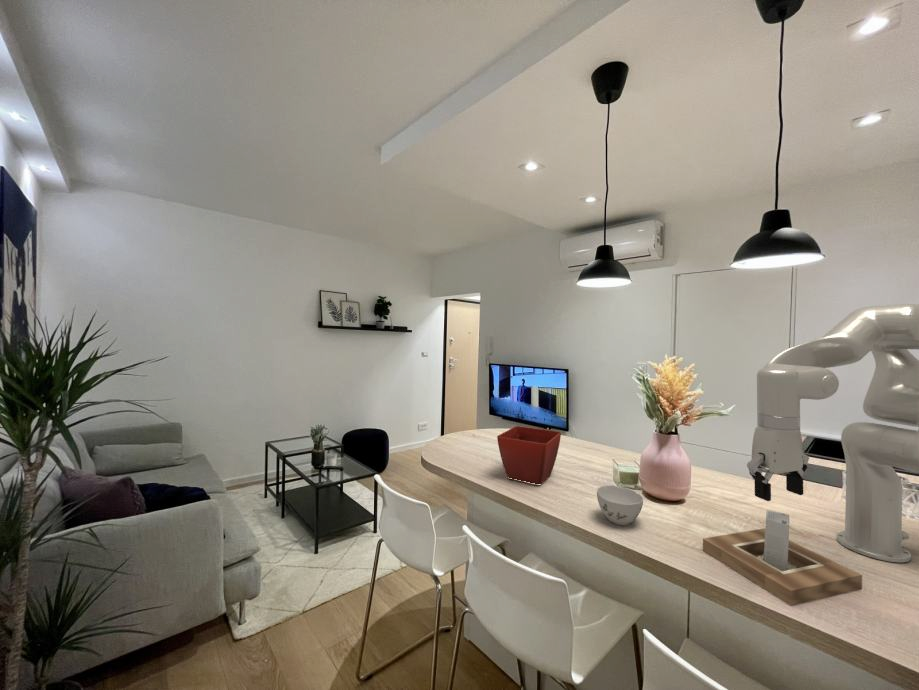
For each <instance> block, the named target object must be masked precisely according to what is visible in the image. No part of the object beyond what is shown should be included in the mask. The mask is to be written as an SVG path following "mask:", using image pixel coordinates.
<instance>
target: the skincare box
mask: <svg viewBox="0 0 919 690" xmlns="http://www.w3.org/2000/svg"><path fill="white" fill-rule="evenodd" d="M765 517H766V518H765V528H764V529H765V540H764V554H763V559H762V560H763V561H764V562H766V563H768V564H770V565H772V566H773V567H775V568H777V569H779V570H781V571H786V570H788V568H789V566H788V565H789V562H788V546H789V540H790V515H789V514H787V513H783V512H782V513H781V512H776V511H773V510H768V509H767V510H766V512H765Z"/></svg>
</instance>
